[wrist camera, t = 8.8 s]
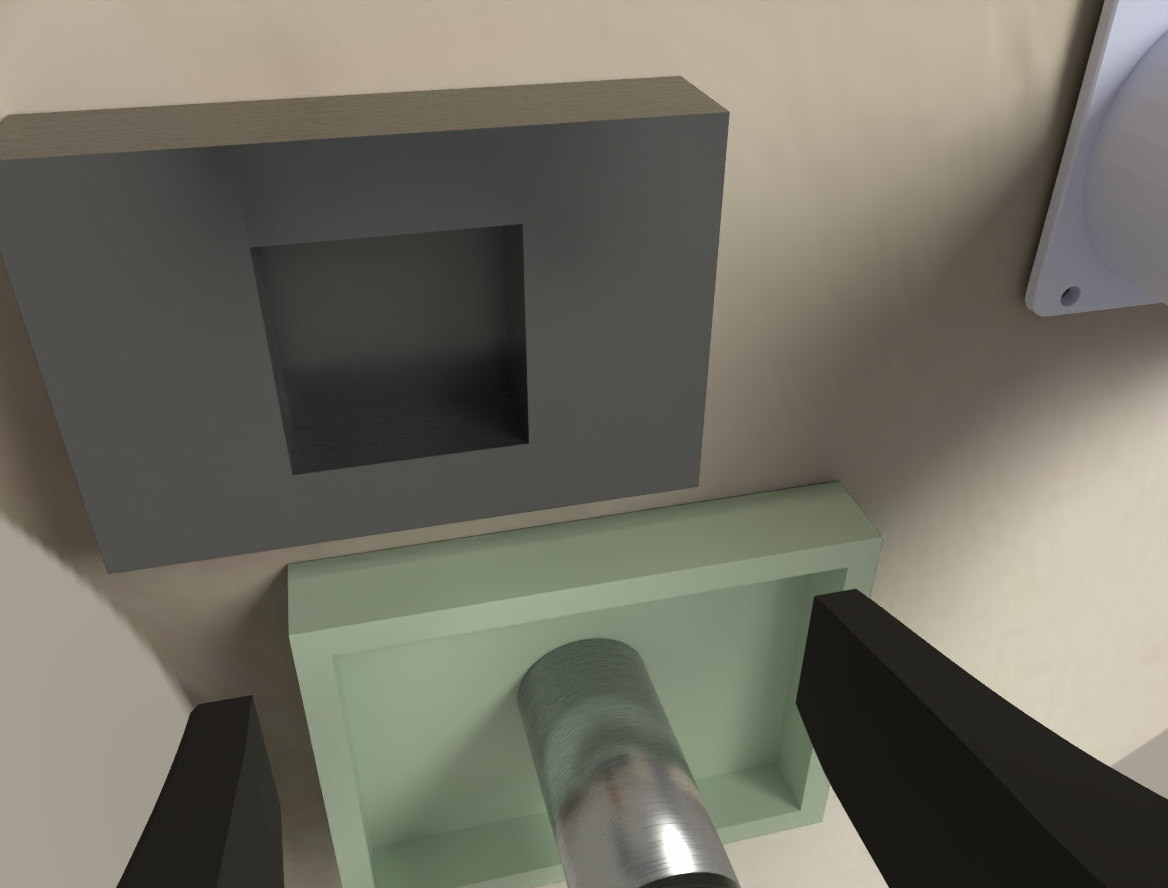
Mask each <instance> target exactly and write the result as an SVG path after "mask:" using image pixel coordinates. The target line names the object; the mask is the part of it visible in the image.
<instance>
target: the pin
mask: <svg viewBox="0 0 1168 888" xmlns="http://www.w3.org/2000/svg"><path fill="white" fill-rule="evenodd" d="M517 703H518V708H519V712H520V716H521V719H522V723H523V726H524V730H525V734H526V737H527V741H528V744H529V748H530V752H531V755H532V759H533V763H534V766H535V770H536V773H537V777H538V781H539V784H540V788H541V792H542V795H543V799H544V802H545V806H546V810H547V813H548V817H549V821H550V824H551V828H552V831H553V835H554V839H555V842H556V846H557V849H558V853H559V857H560V860H561V864H562V868H563V871H564V875H565V878H566V882H567V886H568V888H741V887H740V884H739V882H738V880H737V877H736V875H735V873H734V871H733V868H732V866H731V864H730V861H729V859H728V857H727V854H726V852H725V850H724V847H723V845H722V843H721V840H720V838H719V836H718V833H717V831H716V829H715V826H714V824H713V822H712V819H711V817H710V815H709V813H708V810H707V808H706V806H705V803H704V801H703V799H702V796H701V794H700V792H699V789H698V787H697V785H696V782H695V780H694V778H693V775H692V773H691V771H690V768H689V766H688V764H687V761H686V759H685V757H684V755H683V752H682V750H681V748H680V745H679V743H678V741H677V738H676V736H675V734H674V731H673V729H672V727H671V724H670V722H669V720H668V717H667V715H666V713H665V710H664V708H663V706H662V704H661V701H660V699H659V697H658V694H657V692H656V690H655V687H654V685H653V683H652V680H651V678H650V676H649V673H648V671H647V669H646V666H645V664H644V662H643V660H642V658H641V656H640V655H639V654H638V652H637V651H636V650H634V649H633V648H632V647H630V646H629V645H627V644H625V643H623V642H620V641H617V640H613V639H606V638H592V639H584V640H579V641H575V642H571V643H569V644H566V645H563V646H561V647H559V648H557V649H555V650H553V651H551V652H550V653H548V654H546V655H545V656H544V657H542V658H541V659H540V660H539V661H537V662H536V663H535V664H534V665H533V666H532V667H531V668H530V670H529V671H528V672H527V674H526V675H525V676H524V678H523V680H522V682H521V684H520V687H519V690H518V695H517Z"/></svg>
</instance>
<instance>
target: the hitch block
mask: <svg viewBox="0 0 1168 888" xmlns="http://www.w3.org/2000/svg"><path fill="white" fill-rule="evenodd" d="M729 113H730V112H729V111H728V110H726V109H725V108H723V107H722V106H721V105H719V104H718V103H717V102H715V101H714V100H713V99H711V98H710V97H709V96H707V95H706V94H704V93H703V92H702V91H700V90H699V89H698V88H696V87H695V86H694V85H692V84H691V83H690V82H688V81H687V80H685V79H684V78H683V77H681V76H674V77H657V78H640V79H622V80H605V81H588V82H570V83H553V84H536V85H518V86H501V87H484V88H466V89H449V90H432V91H415V92H397V93H380V94H363V95H345V96H328V97H311V98H293V99H276V100H259V101H241V102H224V103H207V104H189V105H172V106H155V107H137V108H120V109H103V110H85V111H68V112H51V113H33V114H16V115H8V116H7V117H6V118H5V120H4V121H3V122H2V123H1V125H0V252H1V255H2V258H3V261H4V264H5V267H6V270H7V273H8V276H9V279H10V282H11V285H12V288H13V291H14V294H15V297H16V300H17V303H18V306H19V309H20V312H21V316H22V319H23V322H24V325H25V328H26V331H27V334H28V337H29V340H30V343H31V346H32V349H33V352H34V355H35V358H36V361H37V364H38V367H39V370H40V373H41V376H42V379H43V382H44V385H45V388H46V391H47V394H48V397H49V400H50V403H51V406H52V409H53V412H54V415H55V418H56V421H57V424H58V427H59V430H60V433H61V436H62V439H63V442H64V445H65V448H66V451H67V454H68V457H69V460H70V463H71V466H72V469H73V472H74V475H75V478H76V481H77V484H78V487H79V490H80V493H81V496H82V499H83V502H84V505H85V508H86V511H87V514H88V517H89V520H90V523H91V526H92V529H93V532H94V535H95V538H96V541H97V544H98V547H99V550H100V553H101V556H102V559H103V562H104V565H105V568H106V571H107V574H112V573H118V572H125V571H132V570H139V569H145V568H152V567H159V566H166V565H173V564H179V563H186V562H193V561H200V560H206V559H213V558H220V557H227V556H233V555H240V554H247V553H254V552H260V551H267V550H274V549H281V548H287V547H294V546H301V545H308V544H314V543H321V542H328V541H335V540H341V539H348V538H355V537H362V536H368V535H375V534H382V533H389V532H395V531H402V530H409V529H416V528H422V527H429V526H436V525H443V524H449V523H456V522H463V521H470V520H476V519H483V518H490V517H497V516H504V515H510V514H517V513H524V512H531V511H537V510H544V509H551V508H558V507H564V506H571V505H578V504H585V503H591V502H598V501H605V500H612V499H618V498H625V497H632V496H639V495H645V494H652V493H659V492H666V491H672V490H679V489H686V488H693V487H698V483H699V471H700V459H701V447H702V435H703V423H704V411H705V399H706V387H707V375H708V363H709V351H710V340H711V328H712V316H713V304H714V292H715V280H716V268H717V256H718V244H719V232H720V220H721V208H722V196H723V184H724V172H725V160H726V149H727V137H728V125H729Z"/></svg>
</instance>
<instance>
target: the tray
mask: <svg viewBox="0 0 1168 888" xmlns="http://www.w3.org/2000/svg"><path fill="white" fill-rule="evenodd" d="M882 540H883V536H882V535H881V533H880V532H879V531H878V530H877V528H876V527H875V526H874V525H873V523H872V522H871V521H870V520H869V518H868V517H867V516H866V515H865V513H864V512H863V511H862V510H861V508H860V507H859V506H858V505H857V503H856V502H855V501H854V500H853V498H852V497H851V496H850V495H849V493H848V492H847V491H846V490H845V488H844V487H843V486H842V485H841V483H840V482H839V481H835V482H829V483H822V484H816V485H809V486H802V487H796V488H789V489H783V490H776V491H769V492H763V493H756V494H750V495H743V496H736V497H730V498H723V499H717V500H710V501H703V502H697V503H690V504H684V505H677V506H670V507H664V508H657V509H651V510H644V511H637V512H631V513H624V514H618V515H611V516H604V517H598V518H591V519H585V520H578V521H571V522H565V523H558V524H552V525H545V526H538V527H532V528H525V529H519V530H512V531H505V532H499V533H492V534H485V535H479V536H472V537H466V538H459V539H452V540H446V541H439V542H433V543H426V544H419V545H413V546H406V547H400V548H393V549H386V550H380V551H373V552H367V553H360V554H353V555H347V556H340V557H334V558H327V559H320V560H314V561H307V562H301V563H294V564H288V623H289V639H290V644H291V649H292V653H293V658H294V663H295V667H296V672H297V677H298V682H299V686H300V691H301V696H302V700H303V705H304V710H305V714H306V719H307V724H308V728H309V733H310V738H311V743H312V747H313V752H314V757H315V761H316V766H317V771H318V775H319V780H320V785H321V790H322V794H323V799H324V804H325V808H326V813H327V818H328V822H329V827H330V832H331V836H332V841H333V846H334V851H335V855H336V860H337V865H338V869H339V874H340V879H341V883H342V888H534V887H538V886H542V885H547V884H551V883H556V882H560V881H564V880H566V878H565V875H564V871H563V868H562V864H561V860H560V857H559V853H558V849H557V846H556V842H555V839H554V835H553V831H552V828H551V824H550V821H549V817H548V813H547V810H546V806H545V802H544V799H543V795H542V792H541V788H540V784H539V781H538V777H537V773H536V770H535V766H534V763H533V759H532V755H531V752H530V748H529V744H528V741H527V737H526V734H525V730H524V726H523V723H522V719H521V716H520V712H519V708H518V703H517V695H518V690H519V687H520V684H521V682H522V680H523V678H524V676H525V675H526V674H527V672H528V671H529V670H530V668H531V667H532V666H533V665H534V664H535V663H536V662H537V661H539V660H540V659H541V658H542V657H544V656H545V655H546V654H548V653H550V652H551V651H553V650H555V649H557V648H559V647H561V646H563V645H566V644H569V643H571V642H575V641H579V640H584V639H592V638H606V639H613V640H617V641H620V642H623V643H625V644H627V645H629V646H630V647H632V648H633V649H634V650H636V651H637V652H638V654H639V655H640V656H641V658H642V660H643V662H644V664H645V666H646V669H647V671H648V673H649V676H650V678H651V680H652V683H653V685H654V687H655V690H656V692H657V694H658V697H659V699H660V701H661V704H662V706H663V708H664V710H665V713H666V715H667V717H668V720H669V722H670V724H671V727H672V729H673V731H674V734H675V736H676V738H677V741H678V743H679V745H680V748H681V750H682V752H683V755H684V757H685V759H686V761H687V764H688V766H689V768H690V771H691V773H692V775H693V778H694V780H695V782H696V785H697V787H698V789H699V792H700V794H701V796H702V799H703V801H704V803H705V806H706V808H707V810H708V813H709V815H710V817H711V819H712V822H713V824H714V826H715V829H716V831H717V833H718V836H719V838H720V840H721V843H722V844H727V843H731V842H736V841H740V840H744V839H749V838H753V837H758V836H762V835H766V834H771V833H775V832H780V831H784V830H788V829H793V828H797V827H802V826H806V825H810V824H815V823H819V822H822V819H823V814H824V809H825V805H826V800H827V795H828V791H829V786H830V783H829V781H828V779H827V777H826V775H825V773H824V771H823V769H822V767H821V764H820V762H819V760H818V757H817V755H816V753H815V750H814V748H813V746H812V743H811V741H810V739H809V736H808V734H807V731H806V729H805V726H804V723H803V721H802V718H801V716H800V713H799V711H798V708H797V706H796V697H797V691H798V686H799V680H800V674H801V668H802V663H803V657H804V651H805V646H806V640H807V634H808V628H809V623H810V617H811V611H812V605H813V600H814V596H816V595H822V594H828V593H833V592H839V591H845V590H850V589H857V590H859V591H860V592H862V593H863V594H864V595H866V596H867V597H868V598H870V596H871V591H872V587H873V582H874V577H875V573H876V568H877V563H878V559H879V554H880V549H881V545H882Z"/></svg>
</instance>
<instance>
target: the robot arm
mask: <svg viewBox="0 0 1168 888" xmlns="http://www.w3.org/2000/svg"><path fill="white" fill-rule="evenodd" d="M1068 288H1070V289H1069V291H1068V293H1067V294H1066V295H1065V296H1064V297H1063V298H1061V297H1062V295H1063V293H1064V292H1065V291H1066V290H1067V289H1068ZM1025 303H1026V306H1027V308H1029V309H1030V310H1032V311H1033V312H1034V313H1036V314H1037V315H1039V316H1044V317H1047V316H1056V315H1064V314H1072V313H1081V312H1089V311H1097V310H1106V309H1114V308H1122V307H1131V306H1139V305H1147V304H1156V303H1164V304H1166V305H1168V0H1105V1H1104V5H1103V8H1102V12H1101V16H1100V20H1099V23H1098V27H1097V31H1096V34H1095V38H1094V42H1093V46H1092V49H1091V53H1090V57H1089V60H1088V64H1087V68H1086V72H1085V75H1084V79H1083V83H1082V86H1081V90H1080V94H1079V98H1078V101H1077V105H1076V109H1075V112H1074V116H1073V120H1072V124H1071V127H1070V131H1069V135H1068V138H1067V142H1066V146H1065V150H1064V153H1063V157H1062V161H1061V164H1060V168H1059V172H1058V176H1057V179H1056V183H1055V187H1054V190H1053V194H1052V198H1051V202H1050V205H1049V209H1048V213H1047V217H1046V220H1045V224H1044V228H1043V231H1042V235H1041V239H1040V243H1039V246H1038V250H1037V254H1036V257H1035V261H1034V265H1033V269H1032V272H1031V276H1030V280H1029V283H1028V287H1027V291H1026V295H1025ZM796 706H797V708H798V711H799V713H800V716H801V718H802V721H803V723H804V726H805V729H806V731H807V734H808V736H809V739H810V741H811V743H812V746H813V748H814V750H815V753H816V755H817V757H818V760H819V762H820V764H821V767H822V769H823V771H824V773H825V775H826V777H827V779H828V781H829V783H830V784H831V786H832V788H833V790H834V792H835V793H836V795H837V797H838V799H839V801H840V802H841V804H842V806H843V808H844V809H845V811H846V813H847V815H848V817H849V818H850V820H851V822H852V824H853V825H854V827H855V829H856V831H857V832H858V834H859V836H860V838H861V839H862V841H863V843H864V845H865V846H866V848H867V850H868V852H869V853H870V855H871V857H872V859H873V860H874V862H875V864H876V866H877V867H878V869H879V871H880V873H881V874H882V876H883V878H884V880H885V881H886V883H887V885H888V887H889V888H1168V799H1166V798H1164V797H1162V796H1160V795H1158V794H1156V793H1155V792H1153V791H1151V790H1149V789H1148V788H1146V787H1144V786H1142V785H1141V784H1139V783H1137V782H1135V781H1134V780H1132V779H1130V778H1128V777H1127V776H1125V775H1123V774H1121V773H1120V772H1118V771H1116V770H1114V769H1113V768H1111V767H1109V766H1107V765H1106V764H1104V763H1102V762H1100V761H1099V760H1097V759H1096V758H1094V757H1092V756H1091V755H1089V754H1087V753H1086V752H1084V751H1082V750H1081V749H1079V748H1078V747H1076V746H1074V745H1073V744H1071V743H1070V742H1068V741H1067V740H1065V739H1064V738H1062V737H1060V736H1059V735H1057V734H1056V733H1054V732H1053V731H1051V730H1050V729H1048V728H1047V727H1045V726H1044V725H1042V724H1041V723H1039V722H1038V721H1036V720H1034V719H1033V718H1031V717H1030V716H1028V715H1027V714H1025V713H1024V712H1023V711H1021V710H1020V709H1018V708H1017V707H1015V706H1014V705H1012V704H1011V703H1009V702H1008V701H1007V700H1005V699H1004V698H1002V697H1001V696H999V695H998V694H997V693H995V692H994V691H992V690H991V689H990V688H988V687H987V686H985V685H984V684H983V683H981V682H980V681H978V680H977V679H976V678H974V677H973V676H972V675H970V674H969V673H967V672H966V671H965V670H963V669H962V668H961V667H959V666H958V665H957V664H955V663H954V662H953V661H951V660H950V659H949V658H947V657H946V656H945V655H943V654H942V653H941V652H939V651H938V650H937V649H935V648H934V647H933V646H931V645H930V644H929V643H927V642H926V641H925V640H924V639H922V638H921V637H920V636H918V635H917V634H916V633H914V632H913V631H912V630H910V629H909V628H908V627H907V626H905V625H904V624H903V623H901V622H900V621H899V620H897V619H896V618H895V617H893V616H892V615H891V614H890V613H888V612H887V611H886V610H884V609H883V608H882V607H880V606H879V605H878V604H876V603H875V602H874V601H872V600H871V599H870V598H868V597H867V596H866V595H864V594H863V593H862V592H860V591H859V590H857V589H850V590H845V591H839V592H833V593H828V594H822V595H816V596H814V600H813V605H812V611H811V617H810V623H809V628H808V634H807V640H806V646H805V651H804V657H803V663H802V668H801V674H800V680H799V686H798V691H797V697H796ZM116 888H284V874H283V850H282V831H281V811H280V803H279V799H278V795H277V791H276V787H275V783H274V779H273V775H272V771H271V767H270V763H269V759H268V755H267V751H266V747H265V743H264V739H263V735H262V731H261V728H260V724H259V720H258V716H257V712H256V708H255V704H254V700H253V696H252V695H250V696H244V697H239V698H233V699H227V700H222V701H216V702H210V703H205V704H199V705H198V706H197V707H196V708H195V709H194V710H193V711H192V712H191V713H190V716H189V719H188V722H187V725H186V728H185V731H184V734H183V737H182V740H181V742H180V745H179V748H178V750H177V753H176V756H175V759H174V761H173V764H172V766H171V769H170V771H169V774H168V776H167V778H166V781H165V783H164V786H163V788H162V790H161V793H160V795H159V797H158V800H157V802H156V804H155V807H154V809H153V812H152V814H151V816H150V818H149V820H148V822H147V824H146V826H145V829H144V831H143V833H142V835H141V837H140V839H139V841H138V844H137V846H136V848H135V850H134V852H133V854H132V856H131V858H130V861H129V863H128V865H127V867H126V869H125V871H124V873H123V875H122V877H121V879H120V881H119V883H118V885H117V887H116Z"/></svg>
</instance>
